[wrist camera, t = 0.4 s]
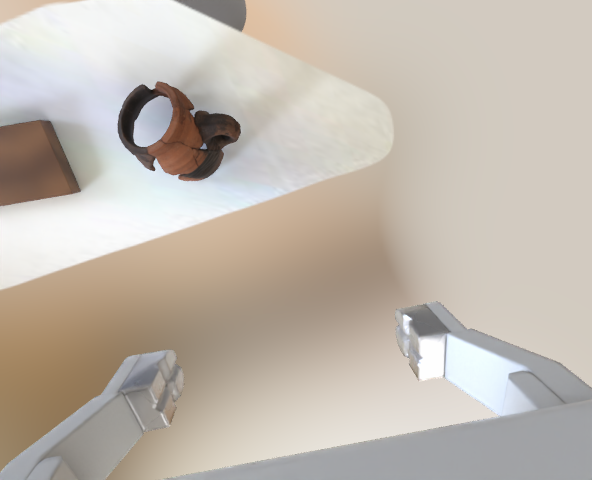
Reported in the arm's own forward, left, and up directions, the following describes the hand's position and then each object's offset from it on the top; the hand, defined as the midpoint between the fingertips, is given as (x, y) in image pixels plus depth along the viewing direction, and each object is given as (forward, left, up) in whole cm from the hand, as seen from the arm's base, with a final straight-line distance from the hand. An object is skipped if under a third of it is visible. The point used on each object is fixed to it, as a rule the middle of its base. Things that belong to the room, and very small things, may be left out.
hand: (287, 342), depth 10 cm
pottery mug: (-9, -8, -27) cm, 30 cm away
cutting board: (-9, -31, -27) cm, 42 cm away
